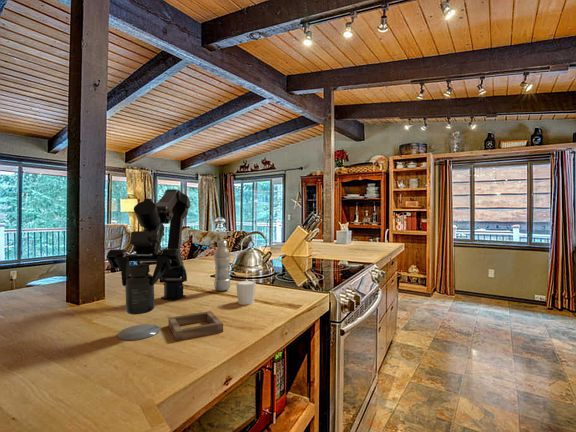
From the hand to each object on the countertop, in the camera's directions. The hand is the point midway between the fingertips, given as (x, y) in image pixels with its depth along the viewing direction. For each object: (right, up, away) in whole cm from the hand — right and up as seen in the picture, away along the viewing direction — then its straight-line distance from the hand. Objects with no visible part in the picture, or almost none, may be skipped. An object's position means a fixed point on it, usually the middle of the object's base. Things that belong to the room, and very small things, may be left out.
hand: (137, 285), depth 82 cm
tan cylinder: (+24, -13, +29) cm, 40 cm away
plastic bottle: (+13, -12, +46) cm, 49 cm away
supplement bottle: (0, -7, +2) cm, 7 cm away
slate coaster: (0, -13, +1) cm, 13 cm away
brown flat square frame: (+14, -13, +4) cm, 19 cm away
